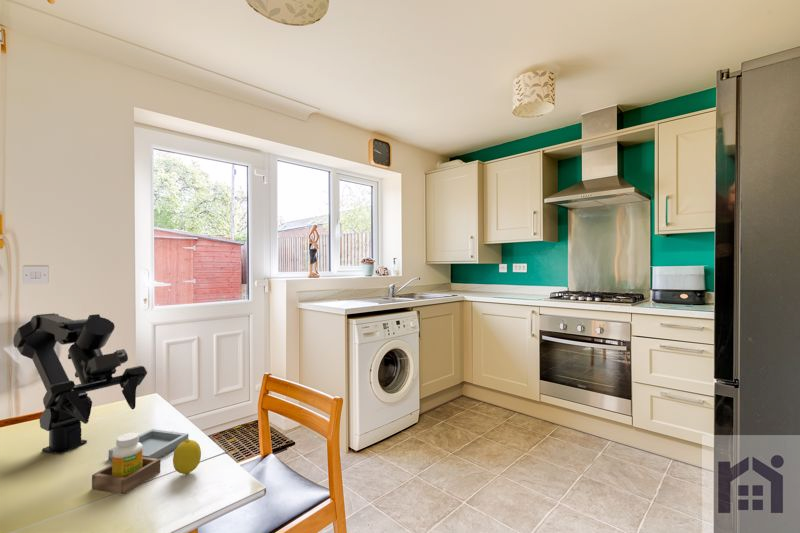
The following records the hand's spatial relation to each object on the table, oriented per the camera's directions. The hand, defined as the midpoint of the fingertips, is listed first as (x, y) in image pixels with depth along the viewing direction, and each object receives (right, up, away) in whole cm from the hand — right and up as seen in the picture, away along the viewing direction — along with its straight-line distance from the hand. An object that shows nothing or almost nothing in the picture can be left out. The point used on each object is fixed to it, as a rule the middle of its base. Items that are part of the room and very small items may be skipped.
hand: (111, 415), depth 84 cm
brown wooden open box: (+6, -13, -4) cm, 15 cm away
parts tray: (+2, -13, +10) cm, 16 cm away
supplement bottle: (+6, -13, -4) cm, 15 cm away
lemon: (+18, -13, -1) cm, 23 cm away
